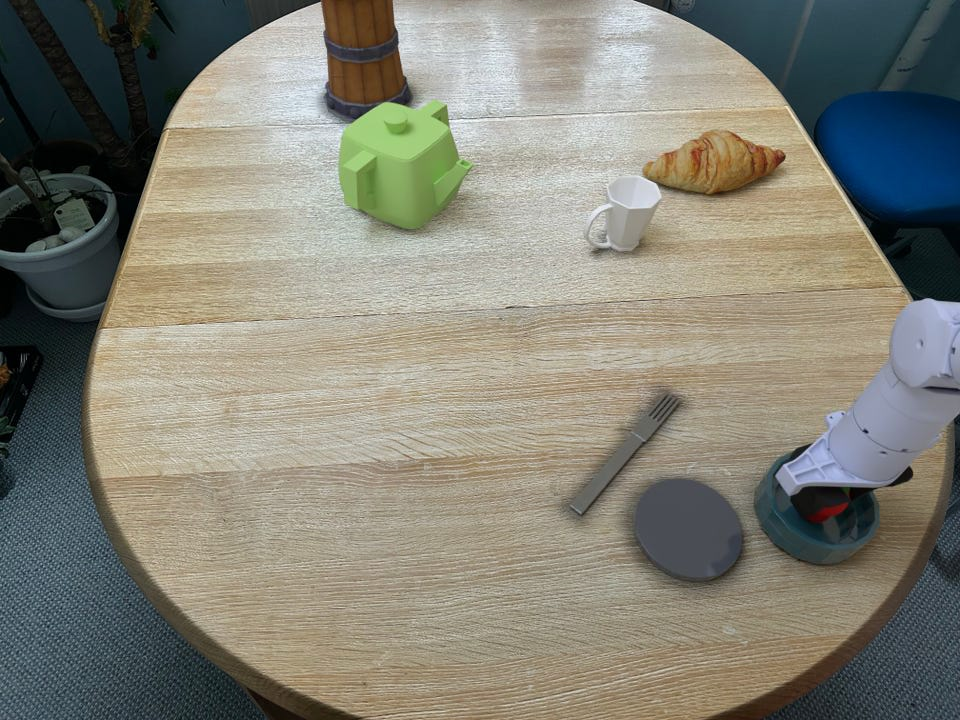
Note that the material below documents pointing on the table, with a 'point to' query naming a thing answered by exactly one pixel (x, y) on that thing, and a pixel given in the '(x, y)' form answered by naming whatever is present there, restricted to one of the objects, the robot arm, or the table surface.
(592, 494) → the fork
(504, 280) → the table surface
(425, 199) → the teapot
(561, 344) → the table surface
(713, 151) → the croissant
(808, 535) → the bowl
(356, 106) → the mug
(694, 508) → the plate
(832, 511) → the strawberry
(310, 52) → the table surface
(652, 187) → the cup
